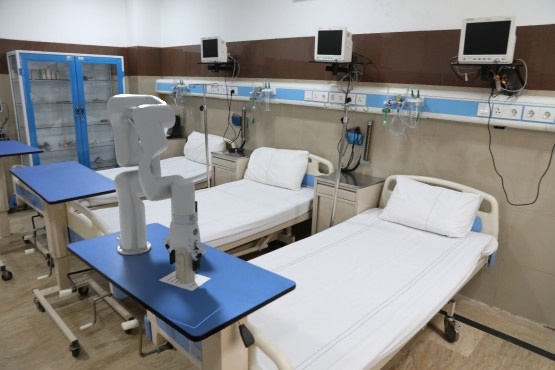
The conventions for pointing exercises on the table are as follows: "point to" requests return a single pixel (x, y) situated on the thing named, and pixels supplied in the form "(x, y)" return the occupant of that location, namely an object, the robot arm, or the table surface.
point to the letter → (189, 286)
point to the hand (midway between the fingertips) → (184, 266)
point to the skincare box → (184, 266)
